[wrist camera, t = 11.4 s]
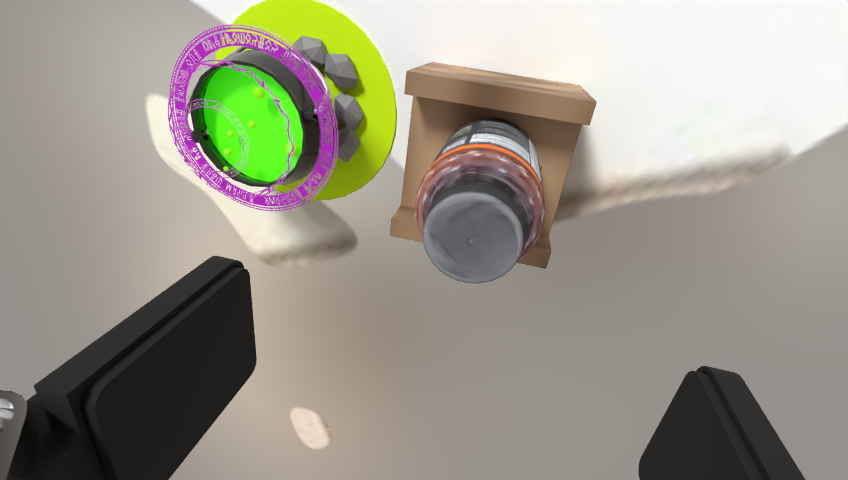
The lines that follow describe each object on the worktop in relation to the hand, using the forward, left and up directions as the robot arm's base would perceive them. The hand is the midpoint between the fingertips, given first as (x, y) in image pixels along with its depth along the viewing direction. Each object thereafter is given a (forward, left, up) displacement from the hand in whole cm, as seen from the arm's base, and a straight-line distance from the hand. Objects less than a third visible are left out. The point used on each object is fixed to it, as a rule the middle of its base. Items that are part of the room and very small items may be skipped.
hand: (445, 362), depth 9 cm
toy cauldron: (+15, +1, -25) cm, 29 cm away
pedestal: (0, +1, -24) cm, 24 cm away
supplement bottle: (0, +1, -19) cm, 19 cm away
